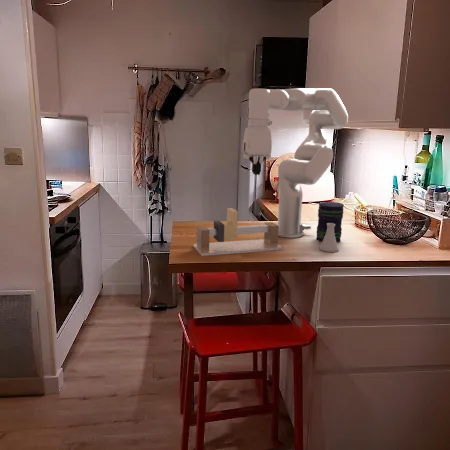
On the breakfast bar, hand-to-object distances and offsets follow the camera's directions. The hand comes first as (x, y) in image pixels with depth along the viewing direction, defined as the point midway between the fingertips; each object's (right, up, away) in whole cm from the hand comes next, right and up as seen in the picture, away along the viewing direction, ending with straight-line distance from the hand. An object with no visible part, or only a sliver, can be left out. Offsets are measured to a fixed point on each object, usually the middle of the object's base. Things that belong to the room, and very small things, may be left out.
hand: (256, 174), depth 165 cm
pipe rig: (-7, -28, 0) cm, 29 cm away
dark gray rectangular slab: (-14, -24, -3) cm, 28 cm away
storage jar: (+30, -25, +15) cm, 42 cm away
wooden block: (-11, -24, -2) cm, 26 cm away
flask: (+27, -29, +1) cm, 40 cm away
